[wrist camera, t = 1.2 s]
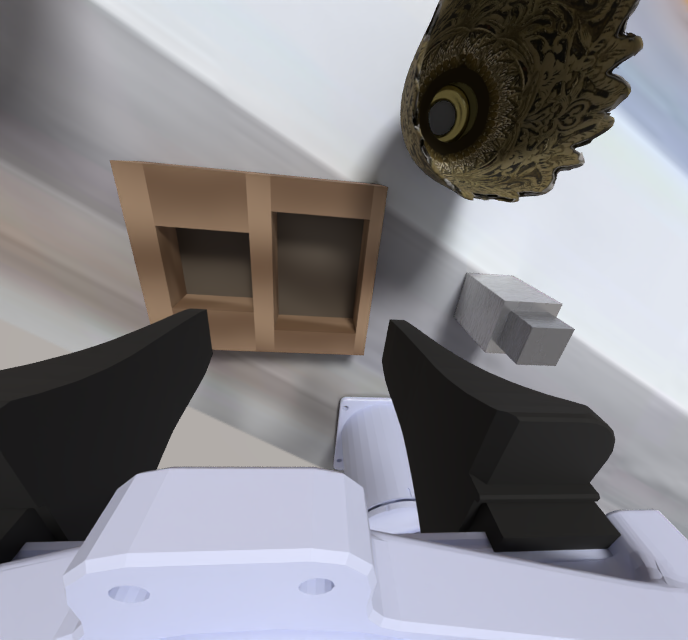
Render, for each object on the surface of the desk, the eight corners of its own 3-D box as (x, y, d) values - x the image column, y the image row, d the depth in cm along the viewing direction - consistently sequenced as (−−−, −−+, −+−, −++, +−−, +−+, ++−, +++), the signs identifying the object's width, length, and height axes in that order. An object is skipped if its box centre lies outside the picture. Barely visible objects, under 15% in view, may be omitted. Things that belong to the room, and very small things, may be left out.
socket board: (359, 337, 23) (363, 355, 21) (173, 329, 22) (156, 347, 19) (379, 184, 18) (388, 187, 16) (138, 160, 16) (109, 160, 14)
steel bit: (496, 318, 23) (560, 374, 17) (453, 316, 23) (502, 372, 17) (513, 275, 21) (590, 319, 15) (466, 272, 21) (526, 316, 15)
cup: (365, 179, 18) (393, 188, 11) (391, 15, 14) (458, -129, 7) (478, 197, 19) (573, 216, 12) (528, 47, 15) (703, -53, 8)
